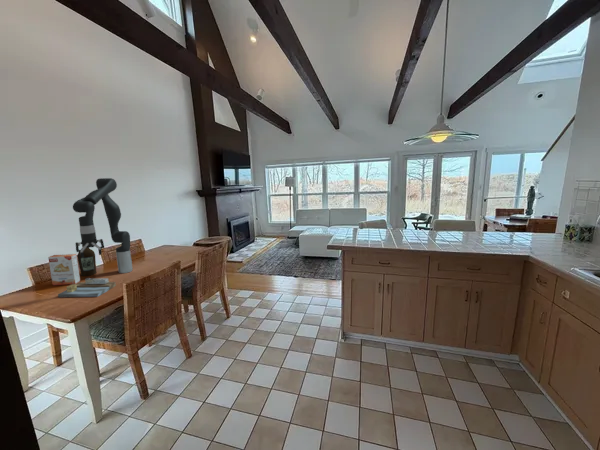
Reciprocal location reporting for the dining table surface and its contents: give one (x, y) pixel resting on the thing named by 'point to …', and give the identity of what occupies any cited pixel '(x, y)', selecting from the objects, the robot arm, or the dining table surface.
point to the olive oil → (87, 262)
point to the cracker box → (64, 269)
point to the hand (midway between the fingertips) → (91, 256)
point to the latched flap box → (86, 290)
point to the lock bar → (96, 280)
